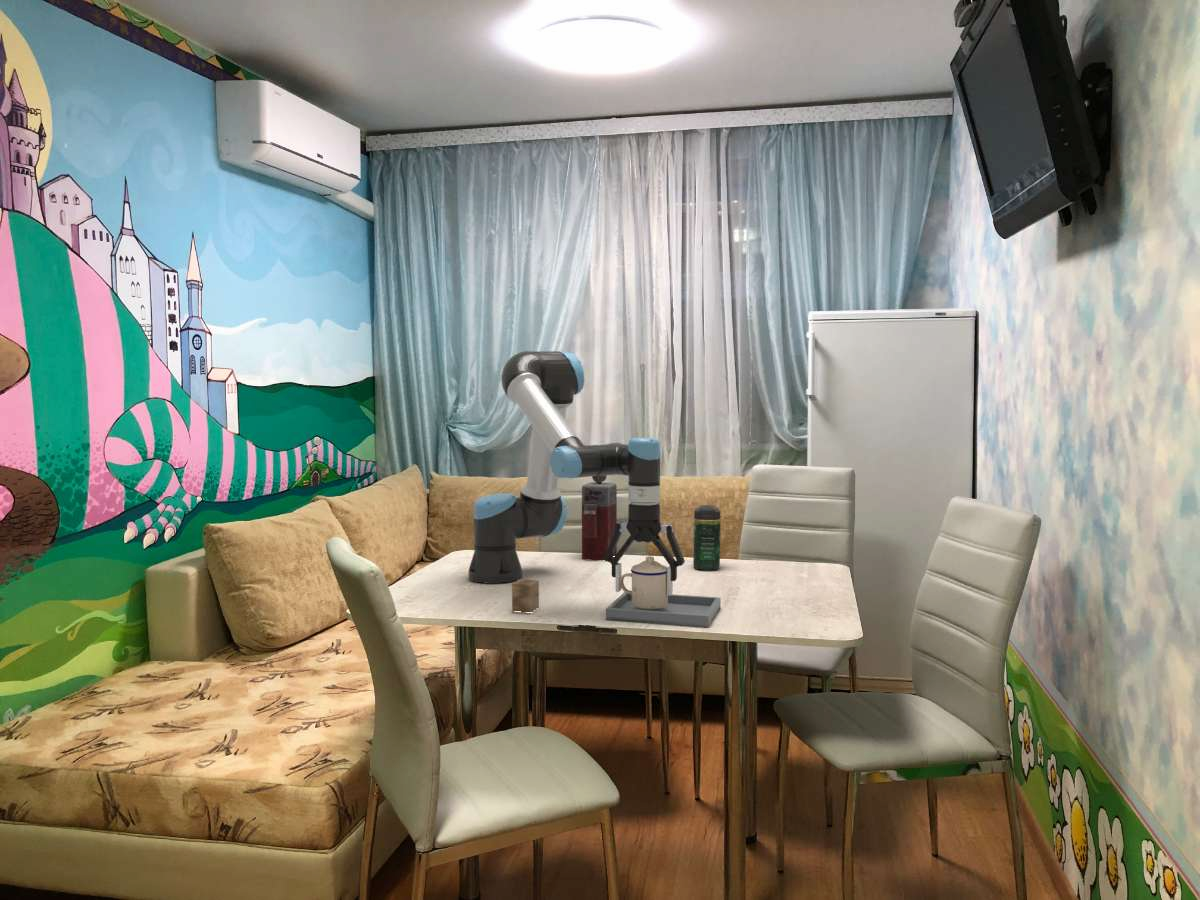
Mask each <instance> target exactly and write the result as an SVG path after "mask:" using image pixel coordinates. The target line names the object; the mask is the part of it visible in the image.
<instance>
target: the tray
mask: <svg viewBox="0 0 1200 900" xmlns="http://www.w3.org/2000/svg"><path fill="white" fill-rule="evenodd" d="M719 609H720V610H721V597H719V596H701V595H689V594H673V593H672V594H671V595H670V596H669V595H668V605H667V606H666V607H664V608H660V609H641V608H637V607H634V606H633V605H632V594H628V593H625V592H624V591H623V593H622V594H620V595H619V596H618V598H616V599H615V600H613V601H612V602H611V603H610V604H609V605H608V606H607V607H606V608H605V620H606V621H617V622H631V623H632V622H633V623H645V624H655V625H656V624H657V625H658V624H659V625H668V626H669V625H670V626H681V627H682V626H684V627H685V626H686V627H695V628H709V627H710V626H711V624H712V623H711V622H713V621H714V620H715V618H716V616H717V614H718V613H719V611H720V610H719ZM717 612H718V613H717ZM714 617H715V618H714Z"/></svg>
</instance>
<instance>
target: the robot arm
mask: <svg viewBox="0 0 1200 900" xmlns="http://www.w3.org/2000/svg"><path fill="white" fill-rule="evenodd" d="M500 380H501V385H502V386H501V387H502V389H503V392H504V393H505V395H506V397H507V398H508V400H510V402H512V403H513V404H516V405H518V407H519V409H520V410H521V411H522V412H523V414H524V415H525V417H526V418H527V420H528V421H529V423H530V424H531V426H532V437H531V445H530V452H529V453H530V454H529V463H528V470H527V471H528V472H527V480H526V484H525V485H523V486H522V487H521V488H520V495H519V497H516V495H515V494H514V493H510V492H509V493H508V492H507V493H505V492H504V493H493V494H489V495H485V496H482V497H480V498H478V499H477V500H475V502H474V505H473V515H472V516H473V541H474V542H473V543H474V544H473V545H474V546H473V547H474V548H473V549H474V550H473V554H472V558H471V560H470V564H469V566H468V567H469V568H468V575H467V576H468V577H467V579H468V578H469V579H470V580H469V579H468V580H469V581H471V580H473V581H477V582H476V583H478V582H487V583H486V584H503V583H502V582H507V583H512V582H511V581H513V582H516V580H517V581H518V580H519V579H522V578H523V568H522V564H521V561H520V559H519V556H518V553H517V543H516V542H517V540H518V539H519V540H520V539H528V538H537V537H542V538H543V537H548V536H552V535H555V534H558V533H559V532H560V531H561V530H562V529H563V528H564V525H566V521H567V517H568V509H567V502H566V501H565V499H564V497H563V496H562V493H561V490H559V489H558V479H559V478H560V479H575V478H576V479H577V478H578V479H579V478H587V477H592V476H605V475H607V476H617V475H619V476H621V475H622V476H627V477H628V501H629V504H628V510H627V511H628V517H627V519H628V521H627V523H626V522H625V523H623V522H622V521H618V522H617V524H616V525H615V533H614V536H613V538H612V540H611V543H610V545H609V548H608V550H607V552H606V555H605V557H604V560H605V561H604V562H608V563H610V565H611V577H612V578H615V592H616V593H619V592H620V591H622V588H621V586H620V578H621V576H622V575H623V574H622V565H623V564H622V562H620V560H621V559H622V557H623V556H624V555H625V553H626V552H627V551H628V550H629V548H630V547H631V545H632V544H633V543H634V542H637V543H641V542H643V543H651V542H652V543H653V546H655V547H656V548H657V549H658V552H660V554H661V555H662V556H663V558H664V560H665V561H666V562H667V564H668V565H669V566H667V567H668V568H667V595H669V596H670V595H671V594H673V591H674V589H673V586H674V585H673V582H676V580H677V579H678V567H682V566H683V565H684V563H685V562H686V560H685V558H684V556H683V553H682V551H681V548H680V546H679V543H678V541H677V538H676V536H675V531H674V530H675V529H674V525H673V524H663V525H662V523H661V505H660V503H659V502H660V501H661V458H662V455H661V454H662V453H661V443H660V442H661V441H660V440H659V439H658V438H655V437H632V438H631V437H630V439H629V440H628V444H624V443H619V442H610V443H605V444H592V445H591V444H590V445H588V444H584V443H583V442H582V440H581V439H580V438H579V437H578V436H577V434H576V433H575V431H574V430H573V429H572V427H571V426H570V425H569V423H568V422H567V420H566V416H567V409H568V408H569V406H571V405H572V404H574V397H575V395H578V394H580V393H581V392H582V390H583V389H584V385H585V372H584V366H583V364H582V362H581V360H580V359H579V357H578V356H577V355H576V354H575V353H572V352H566V351H560V350H557V351H553V350H552V351H549V350H547V351H544V350H543V351H538V350H537V351H536V350H535V351H530V350H525V351H520V352H518V353H515V354H514V355H513V356H511V357H509V359H508V360H507V361H506V363H505V365H504V366H503V368H502V372H501V379H500ZM625 530H627V531H628V533H629V534H630V535H629V537H628V538H627V539H626V540H625V542H624V543H623V545H622V546H621V547H620V549H619V550H618V551H617V554H616V555H615V557H612V555H613V553H614V550H615V548H616V546H618V543H619V540H620V539H621V536H622V533H624V532H625ZM661 531H662V532H663V534H664V535H666V537H667V540H668V543H669V545H670V547H671V550H672V553H673V555H674V556H673V555H672V553H671V552H670V551H669V549H668V548H667V546H666V544H665V543H664V542H663V540H662V538H661V537H660V535H659V534H660V533H661ZM674 557H675V558H674ZM473 581H472V582H473Z"/></svg>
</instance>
